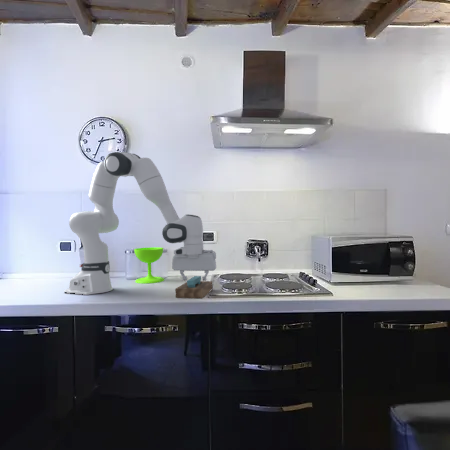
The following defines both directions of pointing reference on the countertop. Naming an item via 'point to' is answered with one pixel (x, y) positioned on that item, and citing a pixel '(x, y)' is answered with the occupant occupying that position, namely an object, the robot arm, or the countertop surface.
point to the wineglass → (149, 262)
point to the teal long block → (193, 281)
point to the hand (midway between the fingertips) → (194, 280)
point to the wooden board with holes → (194, 290)
